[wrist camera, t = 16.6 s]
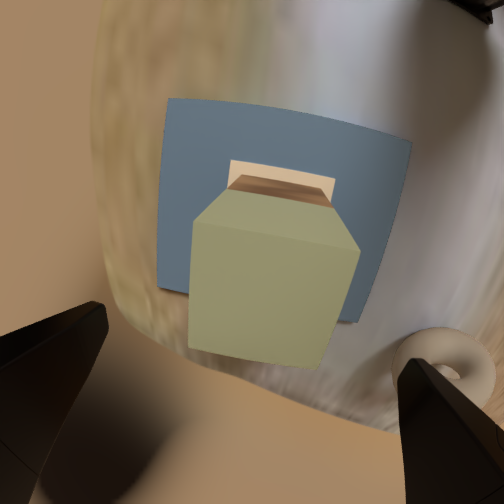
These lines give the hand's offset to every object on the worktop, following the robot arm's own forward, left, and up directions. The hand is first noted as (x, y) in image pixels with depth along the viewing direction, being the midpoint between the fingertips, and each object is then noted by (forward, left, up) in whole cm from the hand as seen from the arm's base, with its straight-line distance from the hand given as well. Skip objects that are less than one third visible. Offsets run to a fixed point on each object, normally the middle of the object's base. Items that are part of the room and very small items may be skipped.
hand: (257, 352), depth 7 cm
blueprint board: (0, 0, -13) cm, 13 cm away
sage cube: (0, 0, -7) cm, 7 cm away
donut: (-16, +8, -13) cm, 22 cm away
